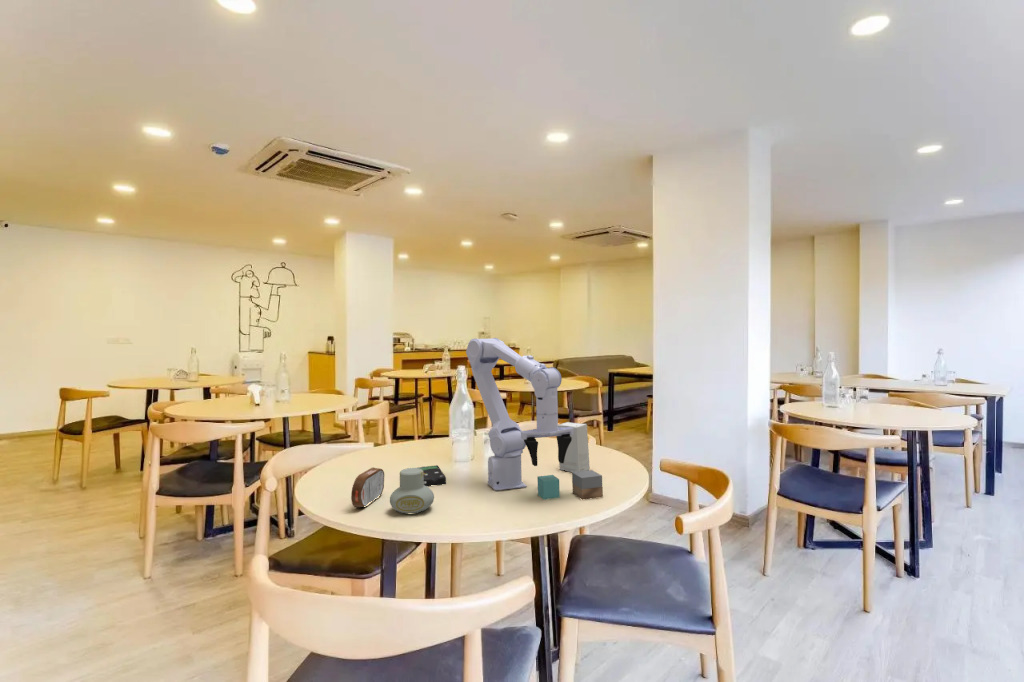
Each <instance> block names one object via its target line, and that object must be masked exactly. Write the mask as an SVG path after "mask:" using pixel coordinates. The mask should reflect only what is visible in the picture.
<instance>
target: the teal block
mask: <svg viewBox="0 0 1024 682" xmlns="http://www.w3.org/2000/svg"><path fill="white" fill-rule="evenodd" d="M537 495H538V496H539V497H540V498H541V499H542V500H544V501H545V500H551V499H552V500H553V499H558V498H560V495H561V494H560V478H558V477H556V476H555V475H554V474H547V475H540V476H537Z"/></svg>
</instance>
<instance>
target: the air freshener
mask: <svg viewBox="0 0 1024 682" xmlns="http://www.w3.org/2000/svg"><path fill="white" fill-rule="evenodd" d="M434 500H435V493H434V492H433V490H432V489H431V488H430V487H429V486H428V487H427V486H425V485H424V476H423V470H422V469H420V468H419V467H410V468H409V467H408V469H407V468H405V469H401V471H400V472H399V487H397V488H396V489H395V490H394V491H392V493H391V494H390V496H389V504H390V506H391V508H392V509H394V511H397V512H399V513H401V514H404V513H416V514H418V513H417V512H419V513H422V512H423V511H426V510H427V509H428V508H429V507H430V506H431V505H432V504H433V503H434ZM421 511H422V512H421Z"/></svg>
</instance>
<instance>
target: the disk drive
mask: <svg viewBox="0 0 1024 682" xmlns="http://www.w3.org/2000/svg"><path fill="white" fill-rule="evenodd" d="M408 468H409V467H408ZM408 468H406V469H408ZM418 468H420V469H422V470H423V476H424V485H425V486H428V487H432V486H431V485H437V486H443V485H442V484H447V477H446V475H445V474H444V473H443V471H442V470H441V468H440V466H439V465H437V464H436V465H427V466H421V467H418Z"/></svg>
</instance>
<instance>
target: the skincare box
mask: <svg viewBox="0 0 1024 682" xmlns="http://www.w3.org/2000/svg"><path fill="white" fill-rule="evenodd" d="M558 427H572V428H574V435H570V437H572V441H571V442H570V444H569V446H568V449H567V451H566V455H565V459H564V463H560V462H559V461H558V462H559V471H564V470H565V471H566V472H570V473H572V472H579V471H588V470H591V469H590V467H591V466H590V453H589V452H590V451H589V437H588V424H587V423H578V422H570V421H566V422H563V423H558Z"/></svg>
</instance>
